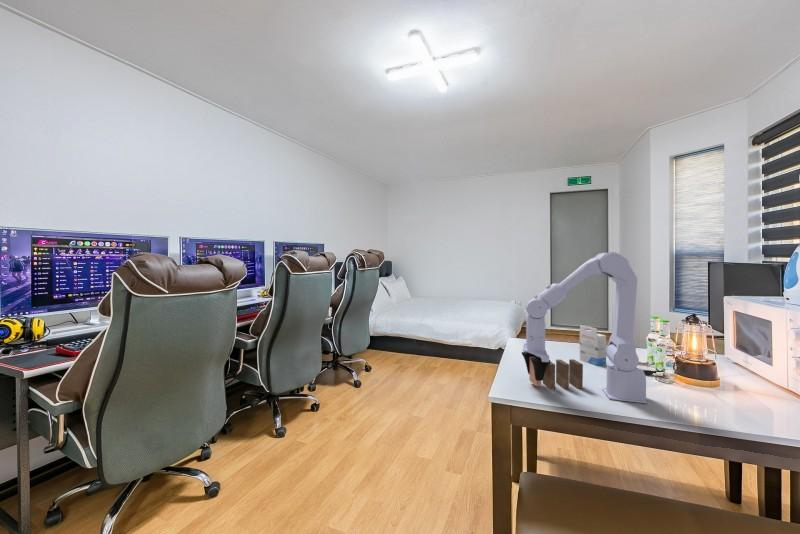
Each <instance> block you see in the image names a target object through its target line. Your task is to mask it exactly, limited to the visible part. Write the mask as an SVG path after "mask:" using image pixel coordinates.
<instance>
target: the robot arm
mask: <svg viewBox="0 0 800 534" xmlns="http://www.w3.org/2000/svg"><path fill="white" fill-rule="evenodd" d="M601 274H604V275H606V276H608V278H609V279H610V280H612V282H614V283H615V295H614V308H613V309H614V310H613V321H612V330H611V331H612V333H611V335H610V336H609V338H608V339H609V340H608V344H606V348H605V354H606V358H608V361H606V387H602V388H601V390H602V391H603V392H604V394H605V396H606V397H607V398H608V399H609V400H613V401H623V402H629V403H630V402H631V403H637V404H647V403H648V402H647V378H646V377H647V376H646V375H645V373H644V371H643V370H644V369H641V368H638V369H637V367H638V366H639V365H638V363H639V362H640V361H639V356H638V354H637V351H636V349H637V347H636V343H635V341H634V325H635V313H636V301H637V290H638V288H637V287H638V277H637V275H636V274H635V272H634V270H633V269H632V267H631V266H630V264H629V260H628V258H626V257H624V256H623V255H622V254H620V253H618V252H616V251H611V252H610V251H609V252H600V253H598V254H596V255H595V256H594V257H592V258H590V259H588V260H587V261H585V262H584V263H583V264H581V265H580V266H579V267H577V269H575V270H574V271H573V272H572V273H570V274H569V275H567V277H566V278H564V279H563V280H562V281H561V282H560V283H557V282H556V283H552V284H550V283H549V284H547V285H546V286H545V289H544V290H543V291H541V292H540V293H538V294H535V295H534V298H532V299H530V300H528V302H527V303H526V305H525V310H526V314H527V315H526V324H525V325H526V327H525V328H526V329H525V330H526V331H525V332H526V333H525V334H526V335H525V336H526V337H525V338H526V339H525V343H523V348H522V351H521V355H522V356H523V359H524V362H525V365H526V366H525V367H526V369H527V370H526V371H527V374H528V375H530V357H535V358H531V361H532V364H533V367H534V374H535V379H536V381H541V382H543V378H544V374H545V371H546V369H547V367H548V365H549V364H550V361H551V360H550V355H549V354H548V352H547V350H546V322H545V321H546V319H545V318H546V315H547V313H548V310H551V309H553V308H554V307H555V306H557V305H558V304H559V303H560V302H562V301H563V300H565V299H566V298H567V294H568V293H567V292H569V290H571V289H572V288H573V287H575V286H577V285H578V284H579V283H581V282H582V281H583V280H585V279H586V278H588V277H590V276H595V275H601Z"/></svg>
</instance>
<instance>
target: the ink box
mask: <svg viewBox="0 0 800 534" xmlns="http://www.w3.org/2000/svg"><path fill="white" fill-rule="evenodd" d="M579 327H580V328H579V361H582V362H585V363H588V364H591V365H594V366H596V367H600V366H604V365H606V366H607V356H606V354H605V348H606V346H607V335H605V334H601V333H598V330H599V329H598V328H596V327H593V326H587V325H584V324H583V325H582V324H580V326H579Z"/></svg>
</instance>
